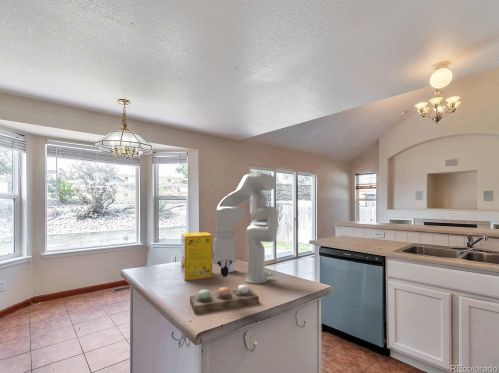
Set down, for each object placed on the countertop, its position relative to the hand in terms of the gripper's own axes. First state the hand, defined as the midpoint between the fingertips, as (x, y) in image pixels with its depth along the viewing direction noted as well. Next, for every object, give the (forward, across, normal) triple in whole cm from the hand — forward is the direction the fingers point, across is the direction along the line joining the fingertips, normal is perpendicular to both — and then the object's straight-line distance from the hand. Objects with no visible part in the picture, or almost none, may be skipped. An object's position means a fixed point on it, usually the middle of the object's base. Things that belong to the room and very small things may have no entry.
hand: (224, 276), depth 116 cm
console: (+11, +1, +1) cm, 11 cm away
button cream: (+8, -8, +1) cm, 11 cm away
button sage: (+7, +10, +1) cm, 12 cm away
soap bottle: (+12, -16, -50) cm, 54 cm away
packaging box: (+12, +4, -48) cm, 50 cm away
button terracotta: (+8, +1, +1) cm, 8 cm away
